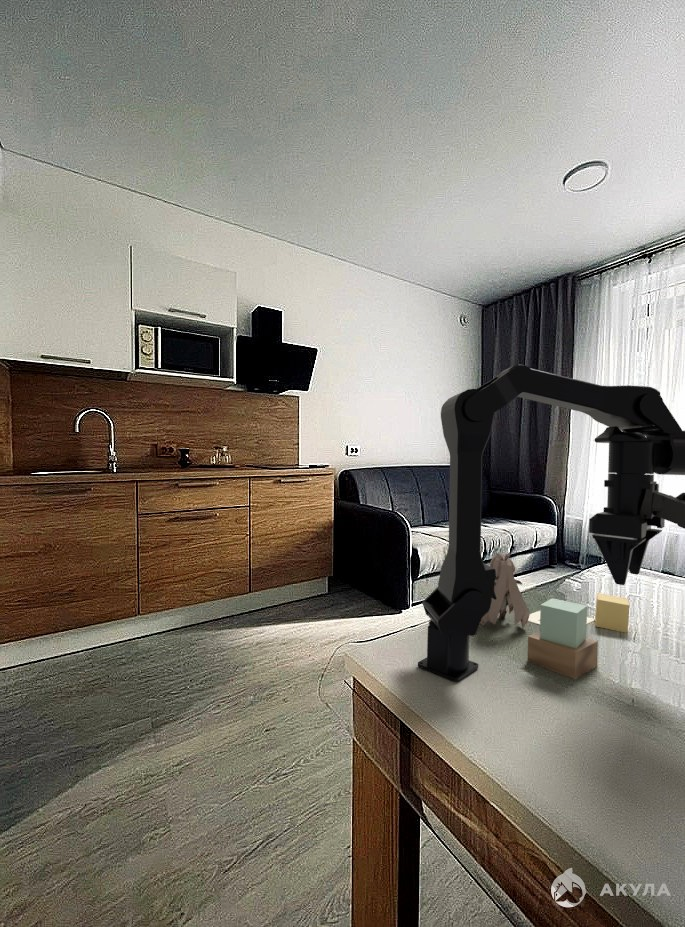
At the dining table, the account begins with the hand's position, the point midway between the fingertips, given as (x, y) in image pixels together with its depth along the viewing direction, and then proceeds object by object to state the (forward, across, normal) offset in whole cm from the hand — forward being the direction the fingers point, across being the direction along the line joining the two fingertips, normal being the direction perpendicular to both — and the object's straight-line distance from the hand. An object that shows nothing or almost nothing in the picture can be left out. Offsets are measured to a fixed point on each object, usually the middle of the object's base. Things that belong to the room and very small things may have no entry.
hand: (627, 579), depth 66 cm
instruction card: (+13, +14, +14) cm, 24 cm away
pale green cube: (+9, -6, +7) cm, 13 cm away
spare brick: (+13, +18, +6) cm, 23 cm away
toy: (+13, +3, +20) cm, 25 cm away
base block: (+13, -6, +7) cm, 16 cm away
